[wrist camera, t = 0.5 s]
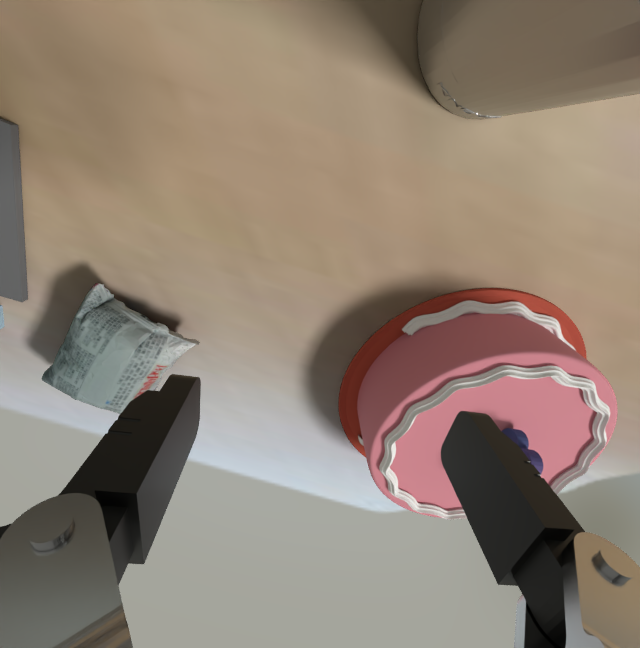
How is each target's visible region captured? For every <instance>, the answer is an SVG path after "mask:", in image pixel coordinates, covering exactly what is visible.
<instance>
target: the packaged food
mask: <svg viewBox="0 0 640 648" xmlns="http://www.w3.org/2000/svg"><path fill="white" fill-rule="evenodd" d="M107 291H108V292H107ZM199 343H200V342H199V341H197V340H195V339H187V338H183V336H182V335H180V334H178V333H176V332H173V331H171V330H169V329H168V327H167V326H166V325H163V324H161V323H157V324H156V323H154V322H152V321H151V320H149V319H148V317H146V316H145V315H143V314H140V313H138V312H136V311H133V310H131V309H129V308H127V307H126V306H125V304H124V303H123V302H121V301H118V300H116V299H115V298H114V294H110V292H109V290H108V289H106V288H104V284H103V285H102V284H99V283H96V284H95V285H94V286H93V287H92V288H91V290H90V291H89V292H88V294H87V295H86V297H85V299H84V301H83V303H82V304H81V306H80V308H79V310H78V312H77V313H76V315H75V317H74V319H73V322H72V324H71V326H70V329H69V331H68V333H67V336H66V338H65V341H64V343H63V344H62V346H61V347H60V349H59V351H58V353H57V355H56V358H55V361H54V363H53V365H52V366H50V367H49V368H48V369H47V370H46V371H45V372H44V374H43V376H42V380H43V381H44V382H46V383H48V384H49V385H51V386H53V387H55V388H56V389H58V390H60V391H62V392H63V393H65V394H67V395H69V396H71V397H72V398H73V399H75V400H79V401H81V402H84V403H87V404H90V405H93V406H95V407H98V408H101V409H106V410H109V411H113V412H116V413H119V414H121V413H122V412H123V410H124V409H125V408H126V406H127V405H128V404H129V402H130V401H132V400H133V399H135V398H136V397H138V396H139V395H141V394H142V393H144V392H145V391H147V390H152V391H155V389H156V388H157V386H158V385H159V383H160V381H161V378H162V375H163V373H164V372H165V371H166V370H167V369H169V368H171V367H172V365H173V364H174V363H175V362H176V360H177V359H178V358H179V357H180V356H181V355H182V354H183V353H184V352H186V351H188V350H189V349H190V348H192V347H193V346H195V345H196V344H199Z"/></svg>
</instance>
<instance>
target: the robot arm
mask: <svg viewBox="0 0 640 648" xmlns="http://www.w3.org/2000/svg"><path fill="white" fill-rule="evenodd" d="M417 42H418V57H419V62H420V66H421V70H422V74H423V78H424V80H425V82H426V84H427V86H428V88H429V90H430V92H431V94H432V95H433V96H434V97H435V98H436V100H437V101H438V102H439V103H440V105H442V106H443V107H444V108H446V109H447V110H449V111H450V112H451V113H453V114H456V115H458V116H461V117H464V118H468V119H486V118H499V117H502V116H506V115H512V114H519V113H526V112H532V111H538V110H544V109H551V108H557V107H563V106H569V105H575V104H581V103H587V102H593V101H599V100H605V99H611V98H617V97H623V96H629V95H635V94H640V0H423V3H422V7H421V11H420V15H419V24H418V35H417ZM200 385H201V383H200V378H199V377H192V376H184V375H175V374H172V375H170V376H169V378H168V379H167V381H166V382H165V384H164V385H163V387H162V388H161V390H160V391H152V390H147V391H145V392H144V393H142V394H141V395H139V396H138V397H136V398H135V399H133V400H132V401H130V402H129V404H128V405H127V406H126V408H125V409H124V410H123V412H122V413H121V414H120V416H119V417H118V420H116V421H115V422H114V424H113V425H112V426H111V428H110V429H109V431H108V433H107V434H105V435H104V437H103V438H102V440H101V441H100V442H99V444H98V445H97V446H96V448H95V449H94V450H93V451H92V453H91V454H90V456H89V457H88V458H87V459H86V461H85V462H84V463H83V465H82V466H81V467H80V469H79V470H78V471H77V473H76V474H75V475H74V477H73V478H72V479H71V481H70V482H69V483H68V484H67V486H66V487H65V488H64V490H63V491H62V492H61V493H60V494H59V495H58V496H56V497H53V498H50V499H47V500H46V501H43V502H41V503H39V504H37V505H35V506H33V507H32V508H30V509H29V510H27V511H26V512H24V513H23V514H22V515H21V516H20V517H18V518H17V519H16V520H15V521H14V522H13V523H12V524H9V525H6V526H2V527H0V648H133V646H132V641H131V637H130V633H129V628H128V624H127V621H126V618H125V613H124V609H123V604H122V601H121V595H120V591H119V586H118V585H119V583H120V580H121V578H122V576H123V574H124V572H125V569H126V567H127V565H128V563H132V564H144V563H145V560H146V558H147V555H148V553H149V550H150V548H151V546H152V543H153V541H154V538H155V536H156V533H157V531H158V529H159V526H160V524H161V521H162V519H163V516H164V514H165V511H166V509H167V506H168V504H169V502H170V499H171V497H172V494H173V492H174V489H175V487H176V484H177V482H178V480H179V477H180V474H181V472H182V470H183V467H184V465H185V462H186V460H187V458H188V455H189V453H190V450H191V448H192V445H193V443H194V440H195V438H196V434H197V431H198V426H199V419H200ZM441 461H442V465H443V467H444V469H445V471H446V474H447V476H448V478H449V480H450V482H451V484H452V486H453V489H454V491H455V493H456V495H457V497H458V499H459V501H460V504H461V506H462V508H463V510H464V512H465V514H466V516H467V519H468V521H469V523H470V525H471V527H472V529H473V532H474V534H475V536H476V538H477V540H478V542H479V544H480V546H481V548H482V551H483V553H484V555H485V557H486V559H487V561H488V564H489V566H490V568H491V570H492V572H493V574H494V577H495V579H496V581H497V583H498V585H516V586H519V588H520V590H521V592H522V595H521V596H520V598H519V599H518V602H517V611H516V613H517V614H516V627H515V642H514V648H640V567H639V566H638V565H637V564H636V563H635V561H633V559H631V558H630V557H629V556H628V555H627V554H626V553H625V552H624V551H622V550H621V549H620V548H619V547H617V546H616V545H614V544H613V543H611V542H610V541H608V540H607V539H605V538H603V537H601V536H598V535H596V534H593V533H588V532H585V531H584V530H583V529H582V527H581V526H580V525H579V523H578V522H577V521H576V519H575V518H574V517H573V515H572V514H571V513H570V512H569V510H568V509H567V508H566V507H565V505H564V504H563V503H562V501H561V500H560V499H559V497H558V496H557V495H556V493H555V492H554V491H553V490H552V488H551V487H550V486H549V484H548V483H547V482H546V481H545V479H544V478H541V474H540V473H539V471H538V470H537V469H536V468H535V466H534V465H531V461H530V460H529V459H528V457H527V456H526V455H525V453H524V452H523V451H522V450H521V448H520V447H519V446H518V445H517V444H516V443H515V442H513V441H512V440H511V439H510V438H509V437H508V436H506V435H505V434H504V433H503V432H501V430H500V429H499V428H498V426H497V425H496V424H495V422H494V421H493V420H492V418H491V417H490V416H489V415H487V414H485V413H477V412H469V411H460V412H459V413H458V414H457V416H456V418H455V420H454V422H453V424H452V426H451V428H450V430H449V432H448V434H447V436H446V438H445V440H444V442H443V444H442V447H441Z"/></svg>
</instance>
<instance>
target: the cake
mask: <svg viewBox="0 0 640 648" xmlns="http://www.w3.org/2000/svg"><path fill="white" fill-rule="evenodd" d="M460 411H469V412H477V413H485V414H487V415H489V416H490V417H491V418H492V420H493V421H494V422H495V424H496V425H497V426H498V428H499V429H500V430H501V432H503V433H504V434H505V435H506V436H508V437H509V438H510V439H511V440H512V441H513V442H515V443H516V444H517V445H518V446H519V447H520V448H521V450H522V451H523V452H524V453H525V455H526V456H527V457H528V459H529V460H530V461H531V465H534V466H535V468H536V469H537V470H538V471H539V473H540V474H541V478H544V479H545V481H546V482H547V483H548V484H549V486H550V487H551V488H552V490H553V491H554V492H555V493H556V495H557V494H558V493H559V492H560V491H561V490H562V489H563V488H564V487H565V486H566V485H568V484H569V483H570V482H572V481H573V480H575V479H577V478H578V477H580V476H582V475H583V474H585V473H586V472H587V471H588V469H589V466H590V465H591V464H592V463H593V462H594V461H595V460H596V459H597V458H598V456H599V455H600V454H601V453H602V451H603V450H604V448H605V447H606V445H607V444H608V442H609V440H610V438H611V436H612V434H613V431H614V428H615V425H616V420H617V401H616V397H615V394H614V391H613V389H612V387H611V385H610V383H609V382H608V380H607V379H606V378H605V377H604V375H603V374H602V373H601V372H600V371H599V370H598V369H597V368H596V367H595V366H594V365H592V364H591V363H590V362H589V361H588V360H586V350H585V345H584V342H583V339H582V336H581V334H580V332H579V330H578V329H577V327H576V325H575V324H574V323H573V321H572V320H571V319H570V318H569V317H568V316H567V315H566V314H565V313H564V312H563V311H562V310H561V309H559V308H558V307H557V306H555V305H554V304H552V303H551V302H549V301H547V300H545V299H543V298H540V297H538V296H535V295H533V294H529V293H526V292H522V291H517V290H511V289H500V288H483V289H472V290H465V291H459V292H455V293H450V294H447V295H443V296H440V297H437V298H434V299H431V300H428V301H426V302H424V303H421V304H419V305H417V306H415V307H413V308H411V309H409V310H407V311H405V312H403V313H402V314H400V315H398V316H397V317H395V318H394V319H392V320H391V321H390V322H388V323H387V324H385V325H384V326H383V327H382V328H380V329H379V330H378V331H377V332H376V333H375V334H374V335H373V336H372V337H370V339H369V340H368V341H367V342H366V343H365V344H364V345H363V346H362V347H361V349H360V350H359V351H358V353H357V354H356V355H355V357H354V358H353V360H352V361H351V363H350V365H349V367H348V369H347V371H346V373H345V375H344V378H343V381H342V384H341V388H340V393H339V415H340V420H341V423H342V426H343V429H344V431H345V433H346V435H347V437H348V439H349V440H350V442H351V443H352V444H353V446H354V447H355V448H356V449H357V450H358V451H359V452H360V453H361V454H362V455H363V456H365V457H366V458H367V463H368V466H369V470H370V473H371V475H372V478H373V480H374V482H375V483H376V485H377V486H378V488H379V489H380V490H381V492H382V493H383V494H384V495H385V496H387V497H388V498H389V499H390V500H392V501H393V502H394V503H396V504H398V505H400V506H401V507H403V508H406V509H408V510H410V511H413V512H416V513H420V514H423V515H428V516H433V517H440V518H444V519H447V520H452V519H459V518H467V516H466V514H465V512H464V510H463V508H462V506H461V504H460V501H459V499H458V497H457V495H456V493H455V491H454V489H453V486H452V484H451V482H450V480H449V478H448V476H447V474H446V471H445V469H444V467H443V465H442V461H441V447H442V444H443V442H444V440H445V438H446V436H447V434H448V432H449V430H450V428H451V426H452V424H453V422H454V420H455V418H456V416H457V414H458V413H459V412H460Z"/></svg>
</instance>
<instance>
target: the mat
mask: <svg viewBox="0 0 640 648" xmlns="http://www.w3.org/2000/svg"><path fill="white" fill-rule="evenodd" d="M0 296H2V297H6V298H9V299H13V300H16V301H20V302H23V301H25V300H27V299H28V291H27V273H26V256H25V238H24V220H23V202H22V185H21V167H20V149H19V131H18V125H16V124H14V123H11V122H9V121H6V120H4V119H1V118H0Z"/></svg>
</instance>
